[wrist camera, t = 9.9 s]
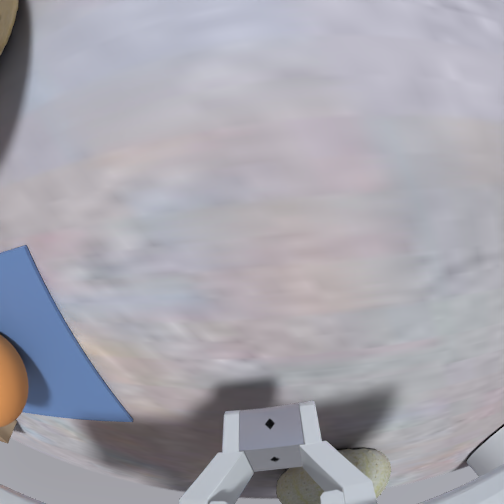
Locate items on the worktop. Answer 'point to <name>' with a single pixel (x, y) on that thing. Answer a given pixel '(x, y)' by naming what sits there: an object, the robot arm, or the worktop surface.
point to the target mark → (49, 348)
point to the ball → (11, 383)
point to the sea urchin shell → (308, 491)
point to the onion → (7, 20)
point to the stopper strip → (7, 431)
